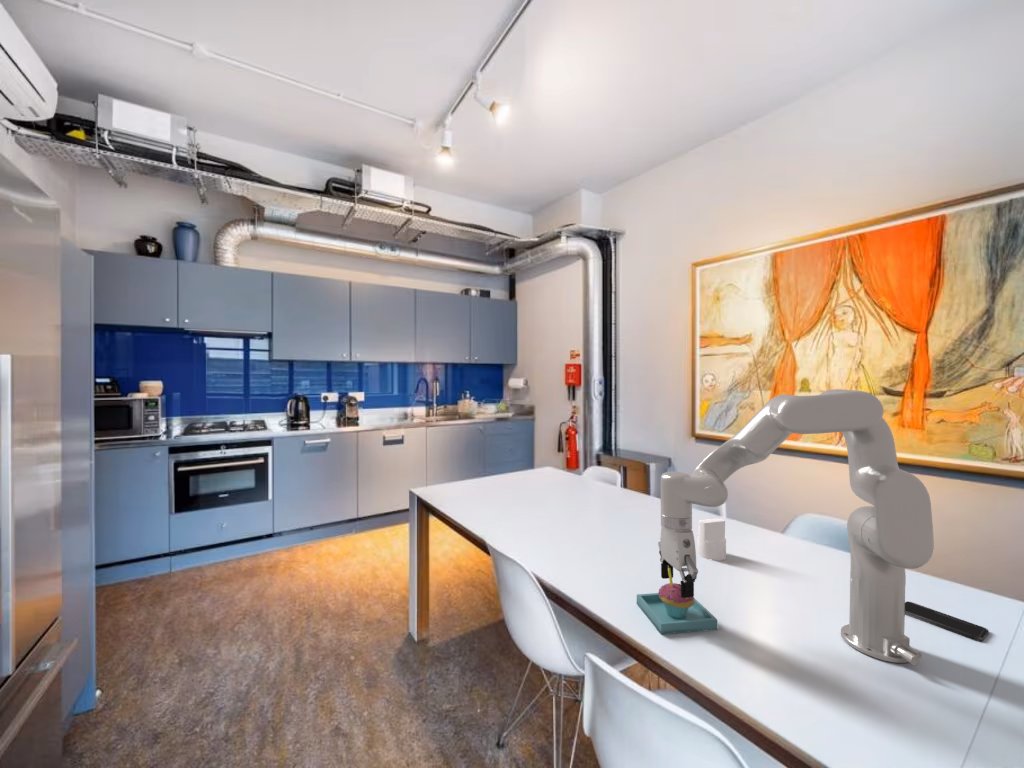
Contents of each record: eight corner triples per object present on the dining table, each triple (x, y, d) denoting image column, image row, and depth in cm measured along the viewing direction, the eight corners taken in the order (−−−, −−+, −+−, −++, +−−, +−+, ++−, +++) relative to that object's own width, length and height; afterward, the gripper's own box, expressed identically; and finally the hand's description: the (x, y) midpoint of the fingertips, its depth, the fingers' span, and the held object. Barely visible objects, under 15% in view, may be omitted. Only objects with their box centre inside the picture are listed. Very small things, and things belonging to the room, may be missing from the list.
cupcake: (656, 616, 105) (656, 570, 105) (661, 601, 113) (661, 557, 113) (693, 626, 101) (693, 577, 101) (695, 609, 109) (695, 563, 109)
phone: (981, 639, 97) (896, 608, 110) (981, 644, 97) (896, 612, 110) (989, 629, 101) (907, 600, 114) (989, 633, 101) (907, 604, 114)
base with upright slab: (709, 561, 139) (710, 526, 138) (691, 550, 147) (691, 517, 147) (732, 558, 141) (732, 523, 141) (712, 548, 150) (713, 515, 150)
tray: (717, 629, 101) (717, 619, 101) (661, 634, 100) (661, 624, 99) (686, 599, 115) (686, 590, 115) (636, 603, 113) (636, 594, 113)
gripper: (710, 532, 99) (710, 603, 99) (672, 509, 116) (673, 570, 116) (680, 534, 98) (681, 606, 98) (647, 511, 115) (647, 572, 115)
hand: (676, 586), depth 107 cm, fingers open, 9 cm apart
